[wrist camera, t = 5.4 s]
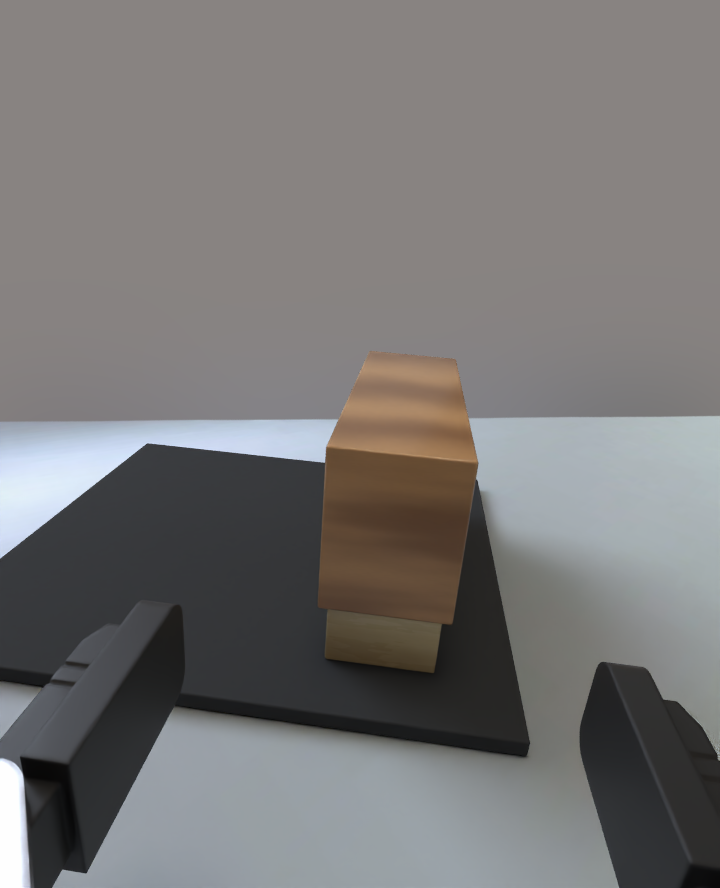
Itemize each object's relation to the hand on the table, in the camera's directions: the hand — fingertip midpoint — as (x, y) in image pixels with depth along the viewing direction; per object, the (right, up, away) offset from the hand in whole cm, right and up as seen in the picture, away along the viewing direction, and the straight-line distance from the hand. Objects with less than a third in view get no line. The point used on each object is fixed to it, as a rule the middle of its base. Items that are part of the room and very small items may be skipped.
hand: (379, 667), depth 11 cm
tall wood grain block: (+1, -1, +16) cm, 16 cm away
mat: (-5, -1, +17) cm, 18 cm away
